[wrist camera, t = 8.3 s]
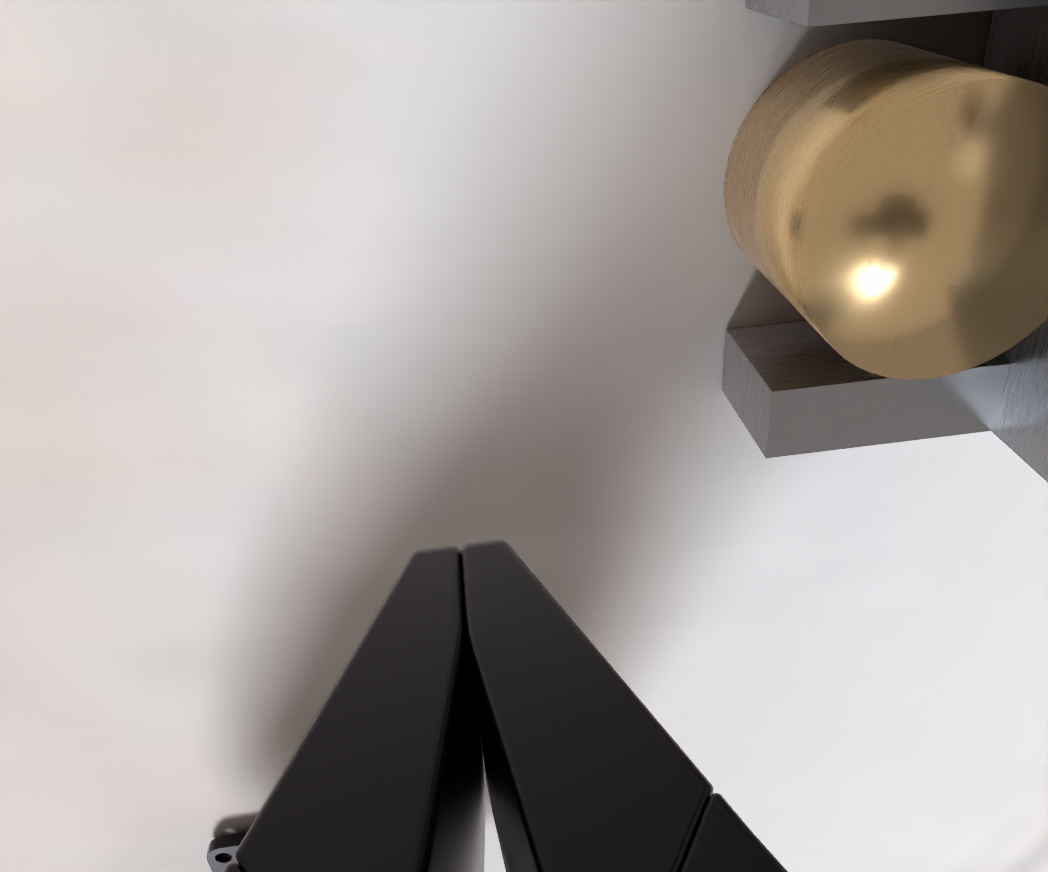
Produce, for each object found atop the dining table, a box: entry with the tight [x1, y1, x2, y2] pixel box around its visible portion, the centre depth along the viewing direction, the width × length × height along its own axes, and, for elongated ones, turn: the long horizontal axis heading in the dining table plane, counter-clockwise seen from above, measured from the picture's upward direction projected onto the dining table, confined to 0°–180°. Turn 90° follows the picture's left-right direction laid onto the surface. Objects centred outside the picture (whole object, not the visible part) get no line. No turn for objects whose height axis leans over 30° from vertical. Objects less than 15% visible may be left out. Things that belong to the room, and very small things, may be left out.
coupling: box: [724, 39, 1048, 380], centre depth 17 cm, size 5×5×4 cm
